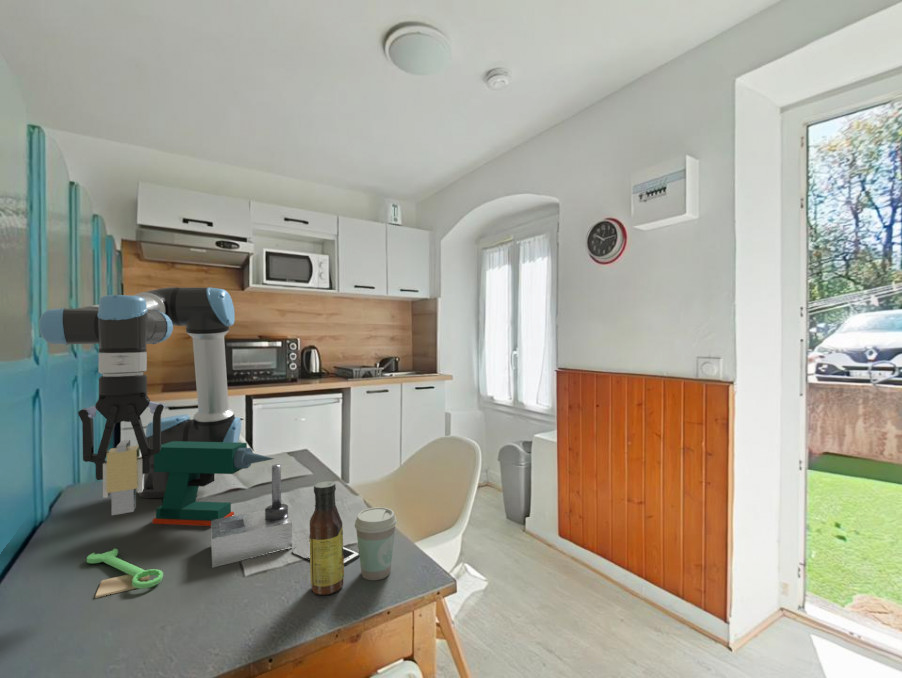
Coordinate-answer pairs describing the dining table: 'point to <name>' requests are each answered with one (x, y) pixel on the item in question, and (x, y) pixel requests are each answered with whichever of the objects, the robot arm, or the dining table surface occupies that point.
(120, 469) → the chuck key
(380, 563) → the coffee cup
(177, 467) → the power tool
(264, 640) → the dining table surface
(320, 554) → the sauce bottle
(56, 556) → the dining table surface
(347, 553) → the cell phone
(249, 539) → the block
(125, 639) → the dining table surface
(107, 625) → the dining table surface
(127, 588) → the key mat
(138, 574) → the wrench
